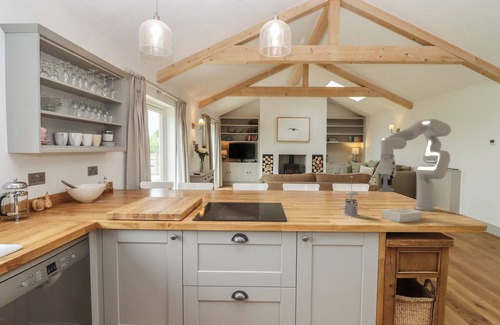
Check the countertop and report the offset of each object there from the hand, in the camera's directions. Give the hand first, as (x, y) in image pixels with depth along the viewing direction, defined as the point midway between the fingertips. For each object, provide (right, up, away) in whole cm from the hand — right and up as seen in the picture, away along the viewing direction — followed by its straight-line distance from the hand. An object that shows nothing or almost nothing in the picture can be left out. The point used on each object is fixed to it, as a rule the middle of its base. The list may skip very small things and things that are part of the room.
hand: (386, 184), depth 172 cm
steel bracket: (0, -4, 0) cm, 4 cm away
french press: (-25, -19, -5) cm, 32 cm away
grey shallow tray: (+1, -19, -15) cm, 24 cm away
